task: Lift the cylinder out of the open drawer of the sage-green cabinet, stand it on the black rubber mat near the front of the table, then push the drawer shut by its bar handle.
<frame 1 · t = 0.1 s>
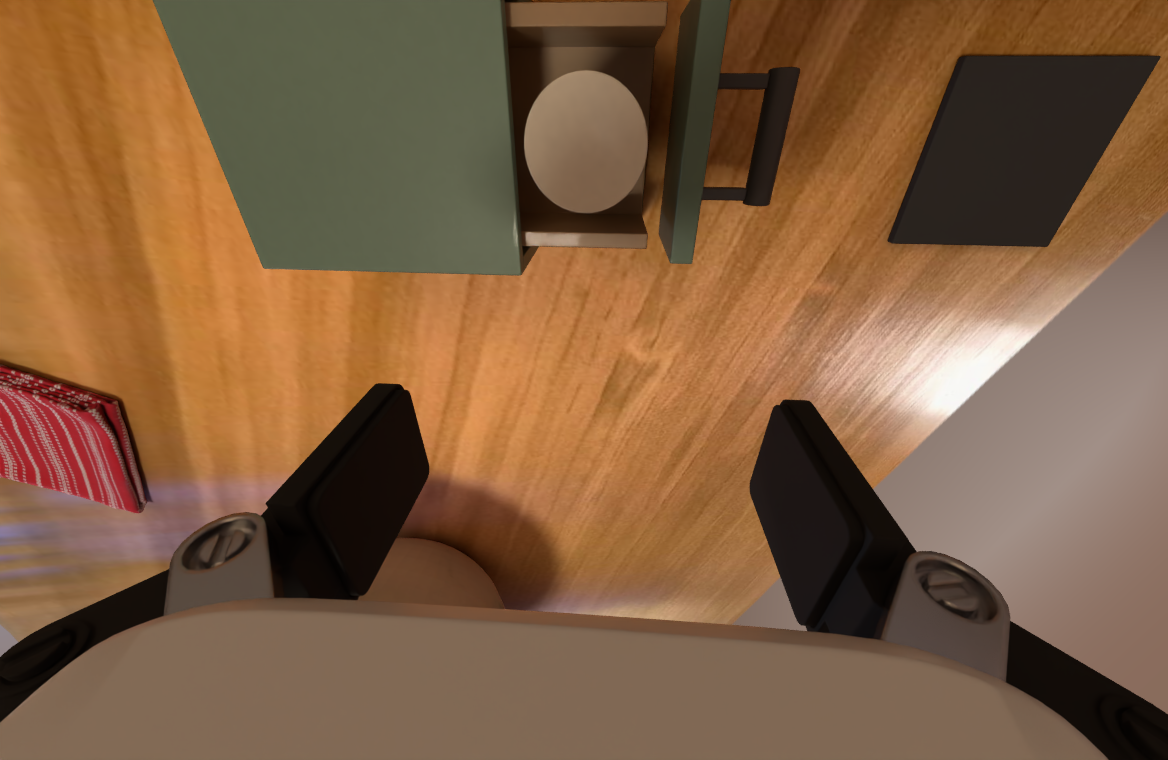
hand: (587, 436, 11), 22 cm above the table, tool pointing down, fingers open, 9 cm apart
cabinet: (427, 135, 26), on the table
drawer: (611, 139, 22), point 4 cm above the table, slide at 8.0 cm, touching cylinder
mat: (1003, 159, 25), on the table
cylinder: (596, 138, 24), point 2 cm above the table, touching drawer
dish towel: (18, 420, 43), on the table
vase: (431, 565, 52), on the table
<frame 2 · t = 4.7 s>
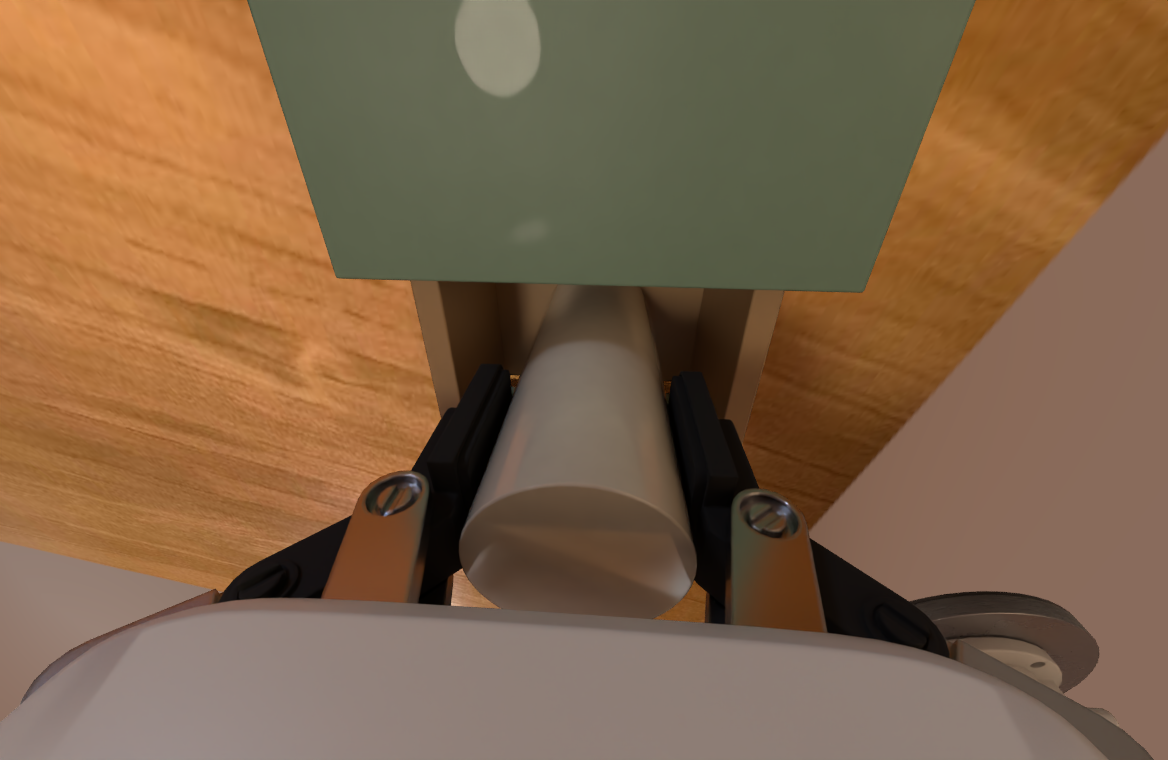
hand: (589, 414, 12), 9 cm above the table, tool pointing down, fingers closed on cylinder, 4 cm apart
drawer: (594, 363, 16), point 4 cm above the table, slide at 8.0 cm, touching cylinder
cylinder: (597, 318, 17), point 2 cm above the table, touching drawer, gripper
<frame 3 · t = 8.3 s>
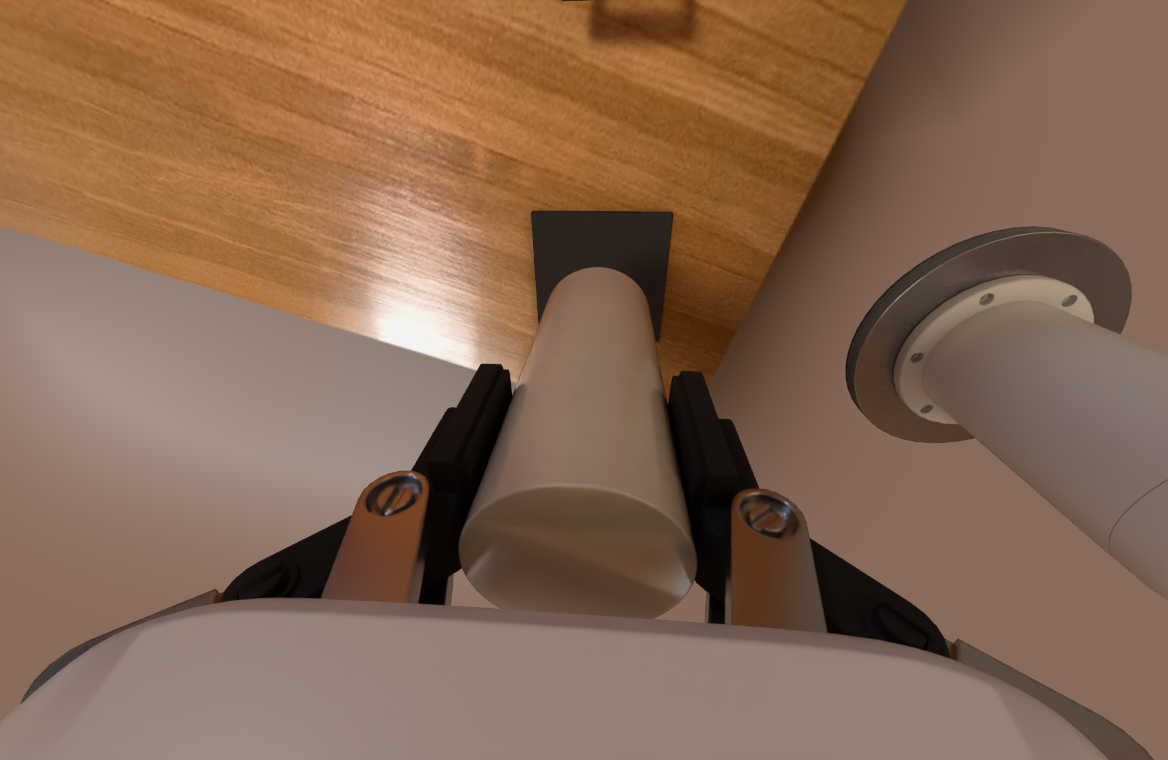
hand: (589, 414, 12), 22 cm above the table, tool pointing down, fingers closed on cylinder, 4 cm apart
mat: (600, 279, 32), on the table
cylinder: (597, 318, 17), point 15 cm above the table, touching gripper
when the fingers open (7 cm above the table, at t = 12.2 s): cylinder stays where it is, resting on mat.
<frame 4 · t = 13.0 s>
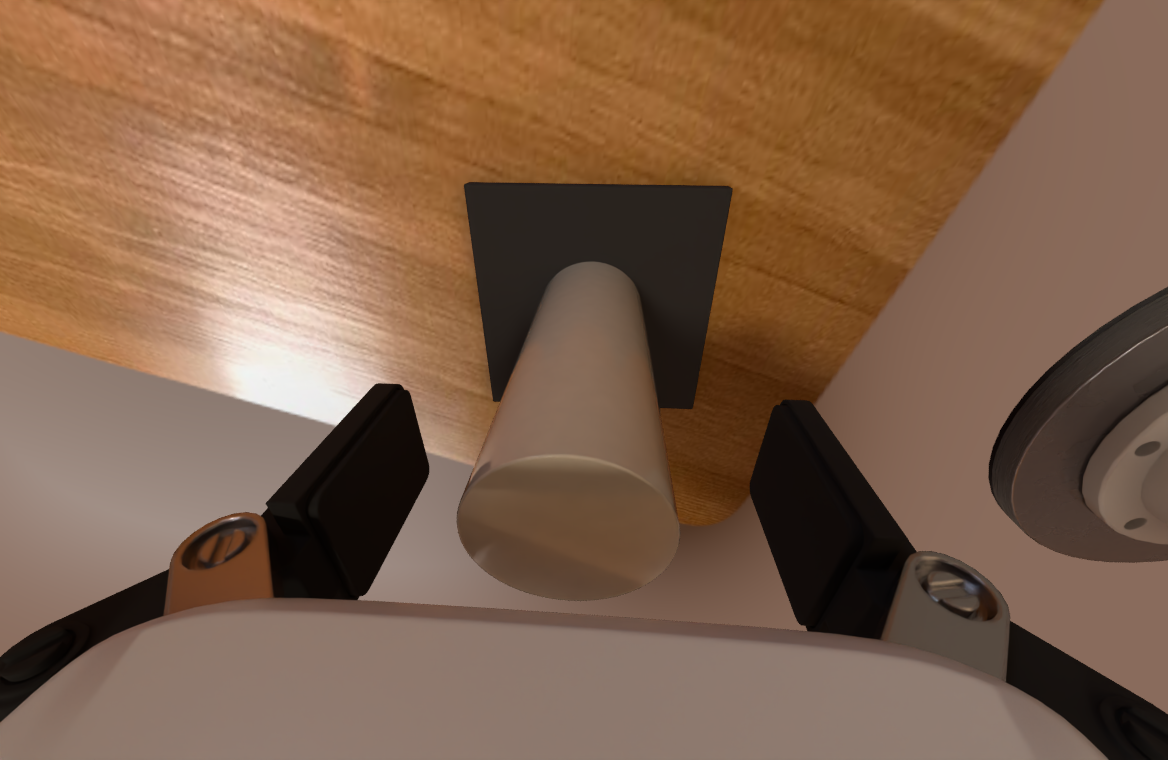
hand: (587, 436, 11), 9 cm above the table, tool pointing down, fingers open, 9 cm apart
mat: (594, 307, 18), on the table
cylinder: (591, 311, 18), point 1 cm above the table, touching mat
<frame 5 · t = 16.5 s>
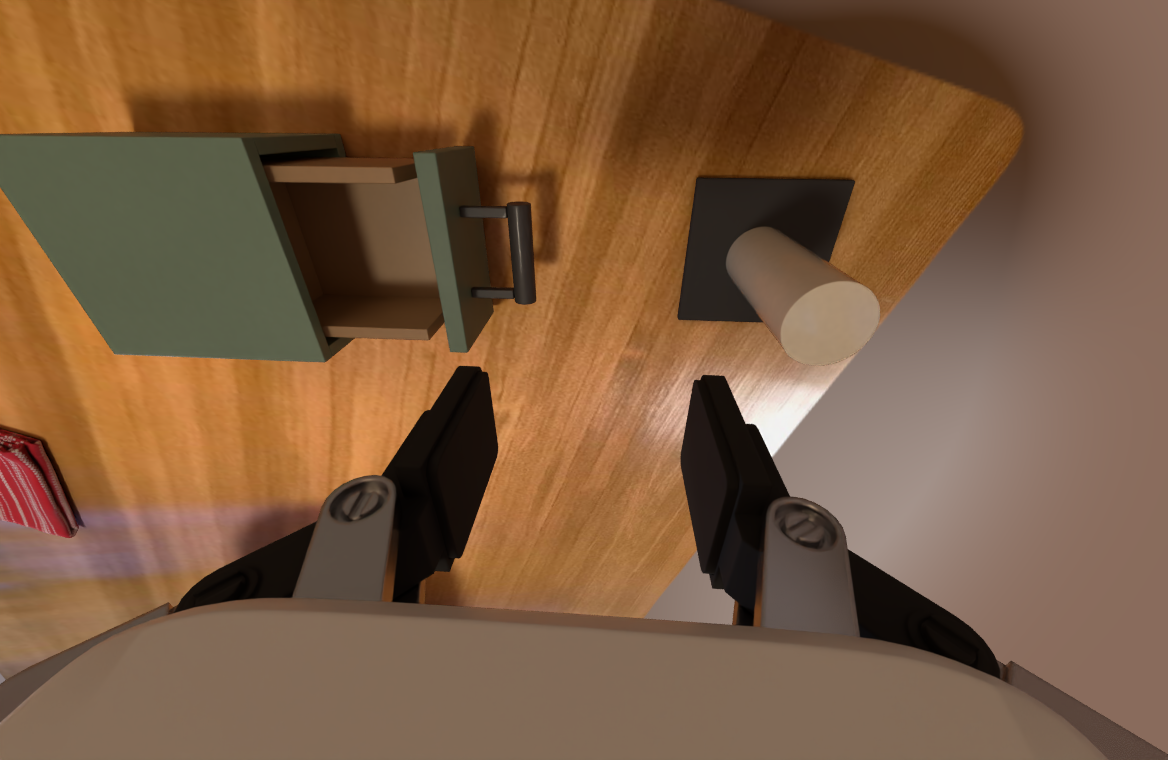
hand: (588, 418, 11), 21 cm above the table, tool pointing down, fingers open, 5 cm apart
cabinet: (272, 230, 31), on the table
drawer: (400, 248, 27), point 4 cm above the table, slide at 8.0 cm
mat: (755, 255, 30), on the table
cylinder: (757, 258, 29), point 1 cm above the table, touching mat
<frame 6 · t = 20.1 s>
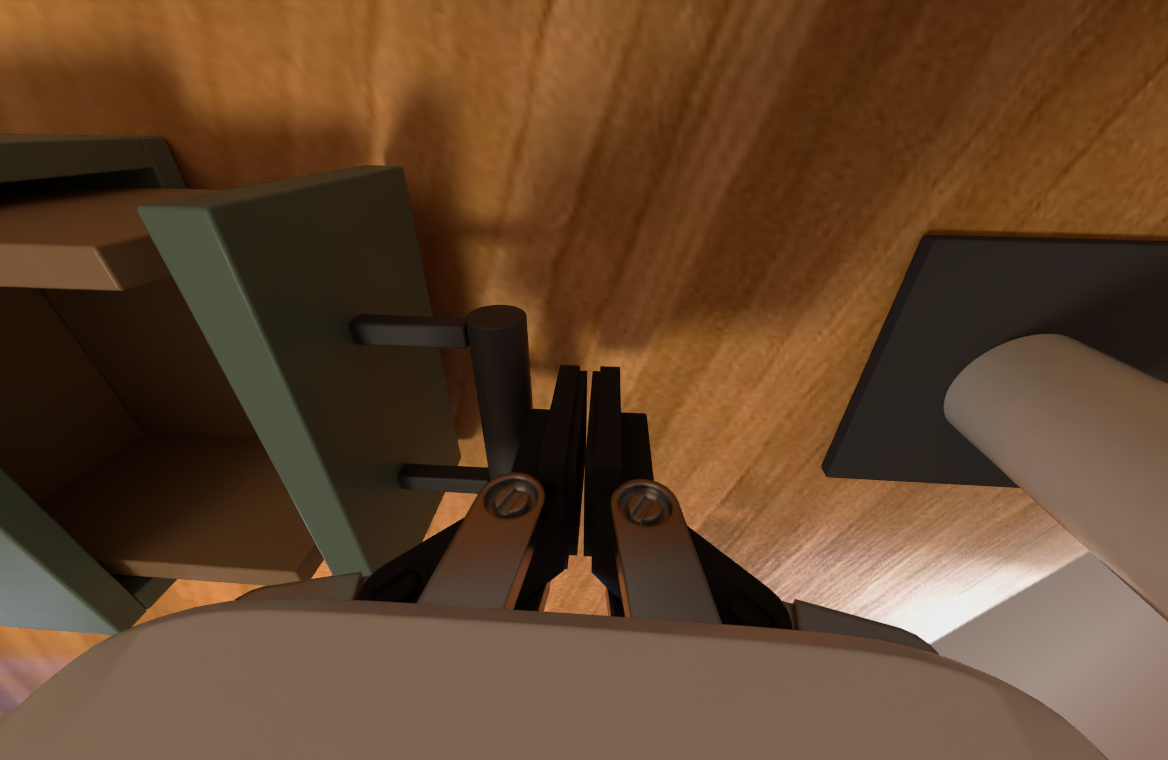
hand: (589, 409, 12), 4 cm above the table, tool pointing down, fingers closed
cabinet: (76, 316, 16), on the table
drawer: (245, 386, 12), point 4 cm above the table, slide at 6.7 cm, touching gripper
mat: (1001, 377, 15), on the table
cylinder: (1012, 388, 15), point 1 cm above the table, touching mat
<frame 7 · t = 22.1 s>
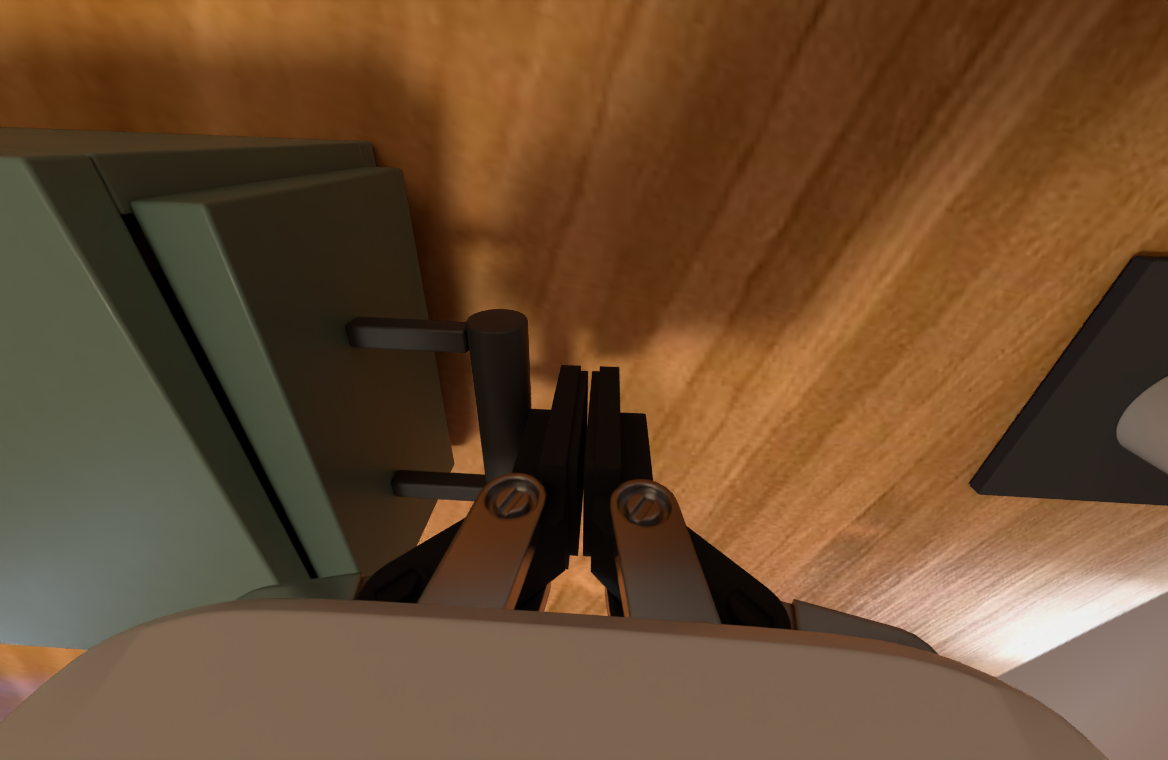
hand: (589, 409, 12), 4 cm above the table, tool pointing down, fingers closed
cabinet: (223, 324, 16), on the table
drawer: (234, 389, 12), point 4 cm above the table, slide at 0.0 cm, touching cabinet, gripper
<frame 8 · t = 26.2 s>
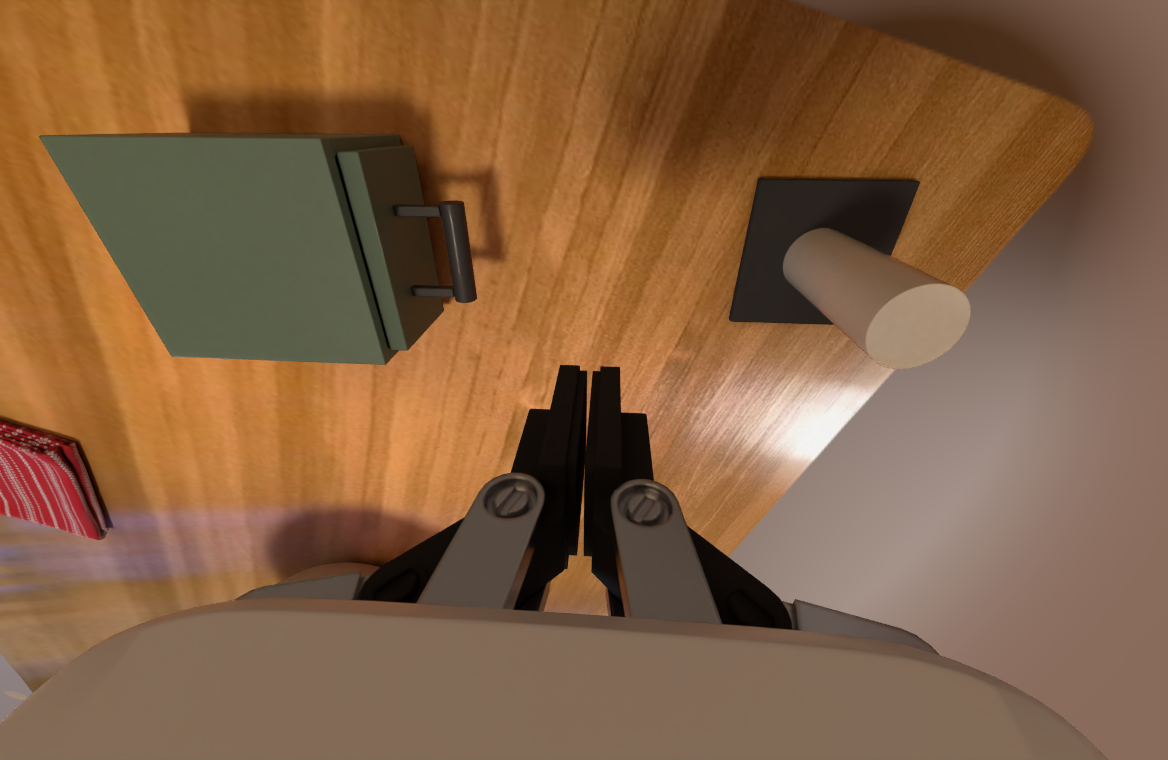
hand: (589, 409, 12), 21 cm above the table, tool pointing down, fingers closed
cabinet: (324, 231, 31), on the table
drawer: (341, 247, 27), point 4 cm above the table, slide at 0.0 cm, touching cabinet
mat: (812, 256, 29), on the table
cylinder: (815, 260, 29), point 1 cm above the table, touching mat
vase: (374, 585, 56), on the table
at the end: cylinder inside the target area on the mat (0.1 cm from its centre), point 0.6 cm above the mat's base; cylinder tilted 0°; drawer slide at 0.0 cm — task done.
